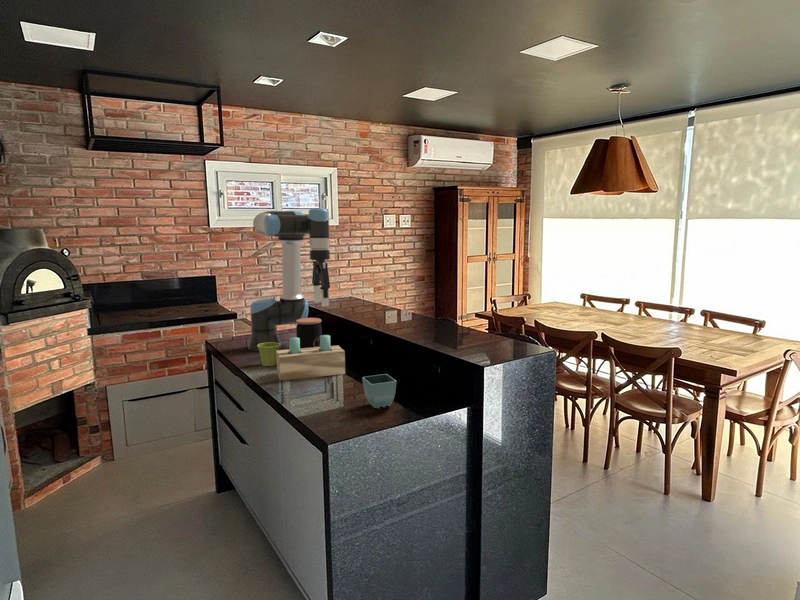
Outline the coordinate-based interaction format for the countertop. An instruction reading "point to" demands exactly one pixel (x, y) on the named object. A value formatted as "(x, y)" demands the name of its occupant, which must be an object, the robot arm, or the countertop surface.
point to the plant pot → (268, 353)
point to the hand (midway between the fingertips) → (321, 304)
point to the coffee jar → (309, 332)
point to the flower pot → (379, 390)
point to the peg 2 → (325, 343)
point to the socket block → (310, 363)
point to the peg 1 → (294, 345)
